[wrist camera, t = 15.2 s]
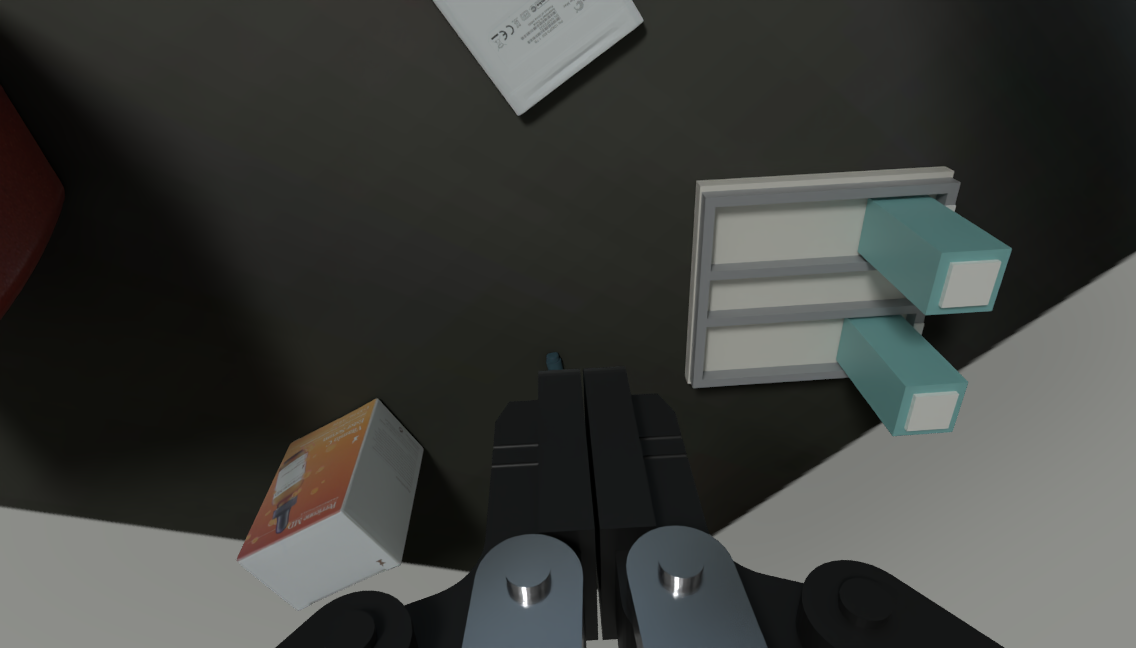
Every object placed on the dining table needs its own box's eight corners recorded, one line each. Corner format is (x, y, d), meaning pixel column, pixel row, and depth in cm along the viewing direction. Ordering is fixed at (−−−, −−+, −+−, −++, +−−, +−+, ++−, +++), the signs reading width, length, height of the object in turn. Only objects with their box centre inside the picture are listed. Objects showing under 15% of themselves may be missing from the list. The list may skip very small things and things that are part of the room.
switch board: (684, 375, 46) (691, 393, 44) (696, 180, 39) (704, 192, 37) (895, 361, 47) (910, 378, 45) (944, 166, 40) (965, 177, 38)
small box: (378, 394, 46) (343, 508, 37) (426, 447, 48) (404, 566, 39) (287, 442, 47) (231, 562, 38) (337, 491, 50) (296, 614, 41)
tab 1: (857, 251, 41) (928, 318, 34) (868, 197, 39) (945, 255, 32) (912, 247, 41) (995, 313, 34) (926, 193, 39) (1016, 251, 32)
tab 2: (835, 359, 45) (895, 439, 38) (844, 314, 43) (908, 389, 36) (886, 356, 45) (955, 435, 38) (897, 311, 43) (971, 385, 36)
